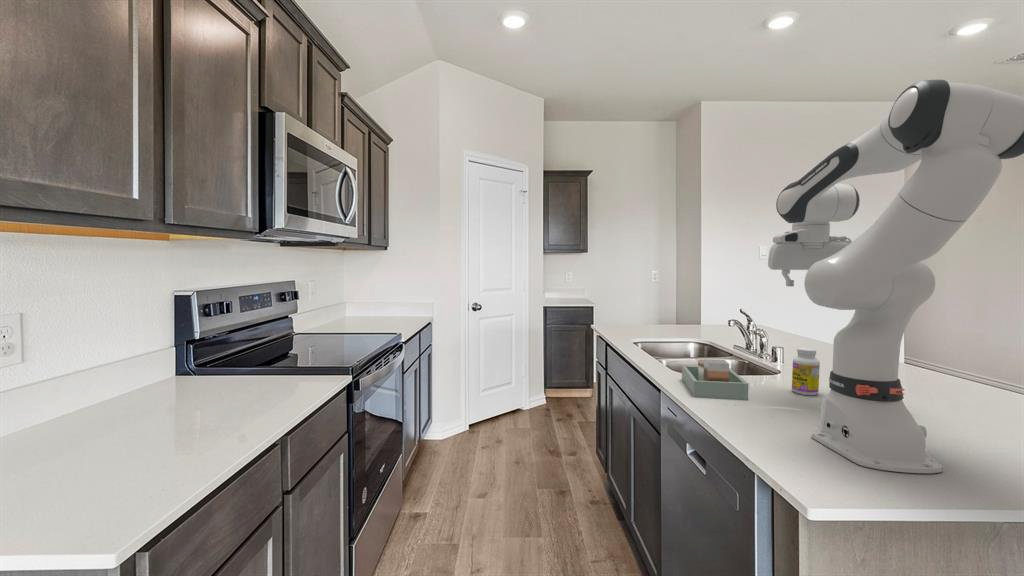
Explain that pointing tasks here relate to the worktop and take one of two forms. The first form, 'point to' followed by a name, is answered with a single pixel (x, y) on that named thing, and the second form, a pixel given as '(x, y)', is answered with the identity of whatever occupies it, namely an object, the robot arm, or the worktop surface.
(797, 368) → the supplement bottle
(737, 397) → the tray
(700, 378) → the ceramic jar
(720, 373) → the tea tin
